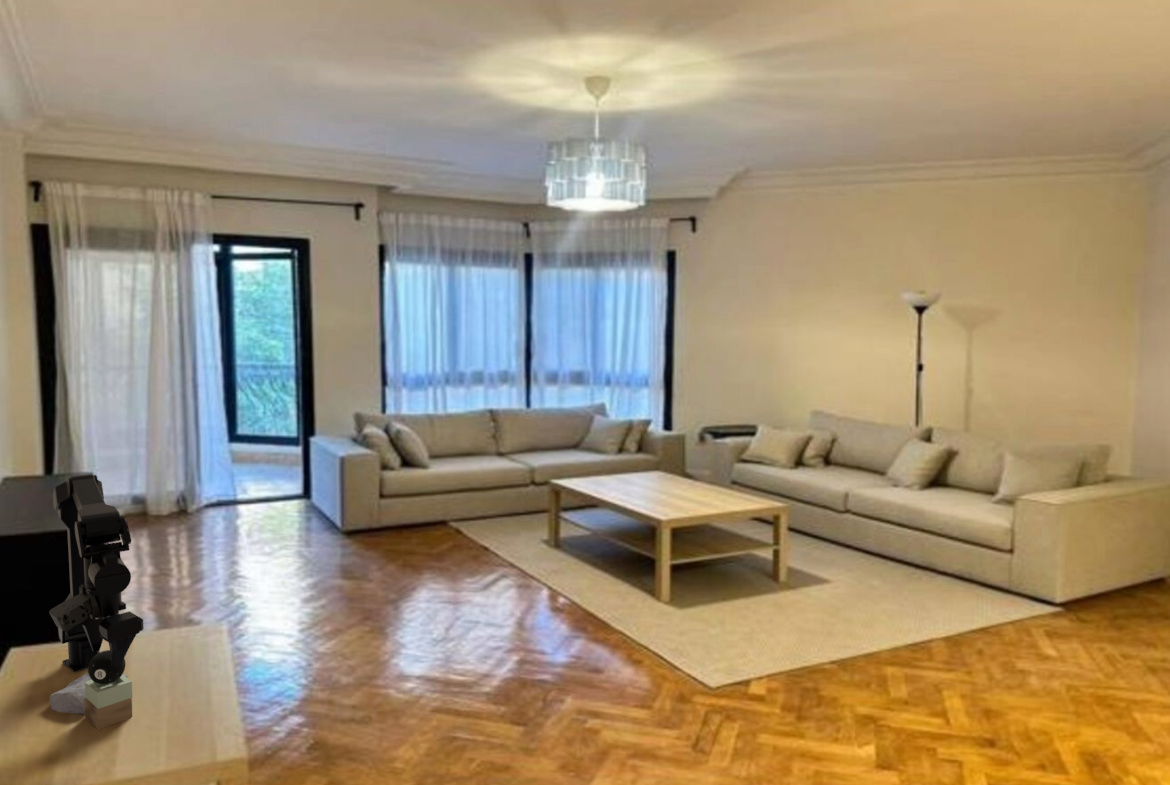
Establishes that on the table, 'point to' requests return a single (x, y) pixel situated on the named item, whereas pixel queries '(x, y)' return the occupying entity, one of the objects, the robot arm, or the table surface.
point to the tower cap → (108, 692)
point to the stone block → (71, 697)
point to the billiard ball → (104, 668)
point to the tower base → (108, 713)
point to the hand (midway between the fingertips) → (106, 658)
